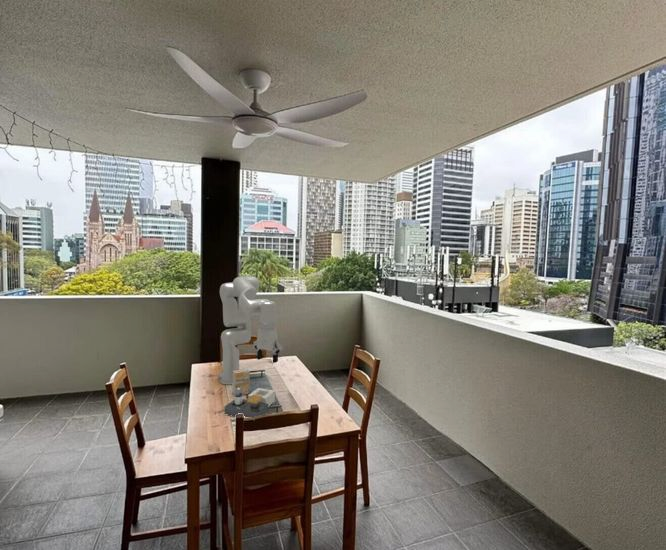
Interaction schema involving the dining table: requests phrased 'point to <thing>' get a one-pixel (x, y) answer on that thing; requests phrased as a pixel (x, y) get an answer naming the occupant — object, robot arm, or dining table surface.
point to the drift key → (254, 401)
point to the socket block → (245, 409)
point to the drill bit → (238, 395)
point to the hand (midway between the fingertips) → (267, 360)
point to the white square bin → (264, 395)
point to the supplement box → (241, 380)
